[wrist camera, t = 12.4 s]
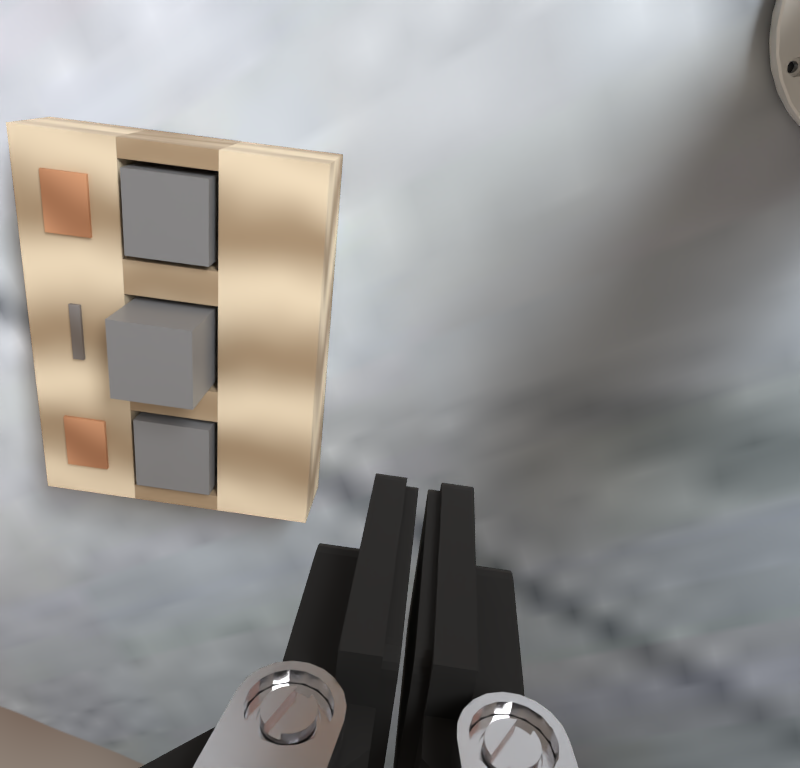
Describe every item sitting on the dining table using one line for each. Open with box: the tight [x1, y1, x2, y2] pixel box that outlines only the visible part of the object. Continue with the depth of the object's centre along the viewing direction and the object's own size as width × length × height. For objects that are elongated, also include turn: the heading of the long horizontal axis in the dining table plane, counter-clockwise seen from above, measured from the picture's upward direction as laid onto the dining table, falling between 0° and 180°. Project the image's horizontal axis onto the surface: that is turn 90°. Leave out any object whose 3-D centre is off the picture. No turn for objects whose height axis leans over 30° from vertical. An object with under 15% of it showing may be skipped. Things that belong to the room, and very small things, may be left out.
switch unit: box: [6, 117, 343, 523], centre depth 40 cm, size 21×16×4 cm
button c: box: [133, 412, 218, 495], centre depth 43 cm, size 4×4×4 cm
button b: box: [105, 296, 218, 410], centre depth 38 cm, size 4×4×4 cm
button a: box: [120, 161, 219, 267], centre depth 37 cm, size 4×4×4 cm
